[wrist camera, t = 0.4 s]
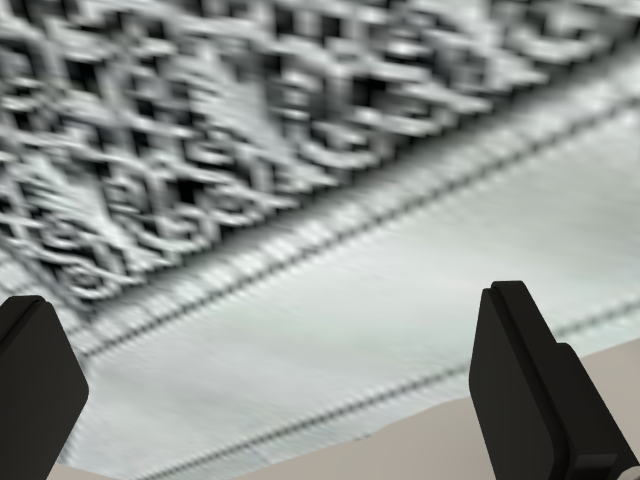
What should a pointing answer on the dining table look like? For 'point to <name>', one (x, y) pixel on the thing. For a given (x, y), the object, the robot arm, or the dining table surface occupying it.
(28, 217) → the dining table surface
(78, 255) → the dining table surface
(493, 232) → the dining table surface
